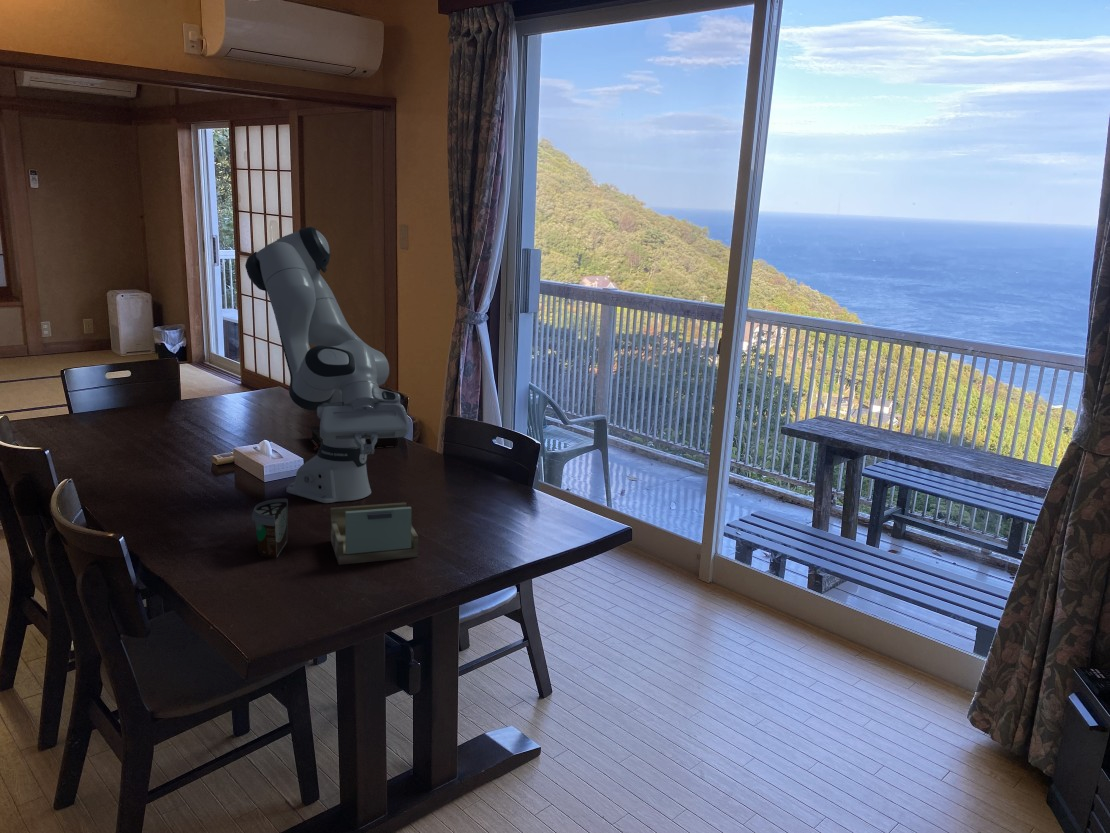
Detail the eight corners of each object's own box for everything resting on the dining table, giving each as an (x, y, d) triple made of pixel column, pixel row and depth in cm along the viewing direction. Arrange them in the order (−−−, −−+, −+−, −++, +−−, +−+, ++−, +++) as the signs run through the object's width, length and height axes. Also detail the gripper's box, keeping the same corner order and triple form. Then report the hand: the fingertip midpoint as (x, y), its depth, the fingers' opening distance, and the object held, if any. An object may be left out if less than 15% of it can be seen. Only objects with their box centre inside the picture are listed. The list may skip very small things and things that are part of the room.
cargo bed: (330, 540, 184) (330, 507, 182) (404, 534, 190) (405, 502, 189) (338, 564, 171) (338, 529, 170) (417, 556, 178) (418, 523, 176)
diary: (398, 449, 263) (398, 435, 262) (321, 456, 251) (321, 440, 250) (381, 434, 279) (381, 421, 278) (308, 440, 267) (308, 425, 266)
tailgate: (345, 551, 172) (345, 511, 170) (409, 546, 178) (410, 506, 176) (346, 555, 171) (346, 514, 169) (411, 549, 176) (412, 509, 174)
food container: (261, 538, 183) (260, 497, 181) (288, 538, 183) (288, 497, 181) (245, 560, 171) (244, 516, 169) (275, 560, 171) (274, 516, 169)
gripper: (316, 395, 182) (321, 448, 175) (406, 393, 189) (413, 444, 183) (315, 410, 187) (319, 462, 180) (402, 407, 194) (409, 457, 188)
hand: (367, 453), depth 181 cm, fingers closed
